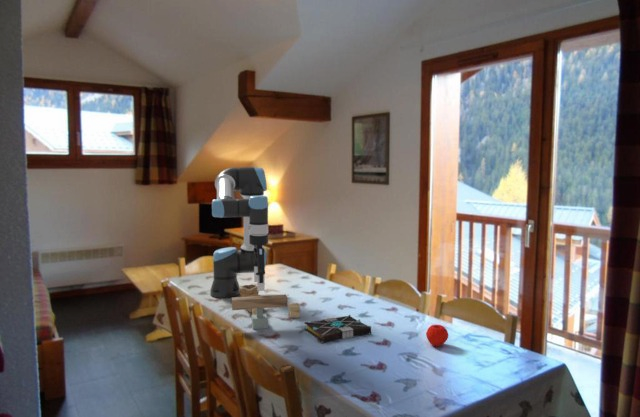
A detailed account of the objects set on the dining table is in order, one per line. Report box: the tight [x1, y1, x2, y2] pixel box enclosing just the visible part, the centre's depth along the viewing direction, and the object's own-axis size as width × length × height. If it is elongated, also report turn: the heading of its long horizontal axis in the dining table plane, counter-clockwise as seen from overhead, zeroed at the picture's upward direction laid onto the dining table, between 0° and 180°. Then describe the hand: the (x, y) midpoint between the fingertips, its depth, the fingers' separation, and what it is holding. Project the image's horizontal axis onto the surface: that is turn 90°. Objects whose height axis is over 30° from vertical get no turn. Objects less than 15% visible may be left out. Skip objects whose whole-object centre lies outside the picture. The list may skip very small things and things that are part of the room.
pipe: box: [239, 284, 265, 314], centre depth 217 cm, size 9×16×10 cm, turn 25°
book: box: [303, 314, 372, 344], centre depth 188 cm, size 22×17×5 cm
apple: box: [425, 324, 449, 347], centre depth 174 cm, size 8×8×7 cm
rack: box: [251, 302, 301, 319], centre depth 206 cm, size 5×20×5 cm, turn 103°
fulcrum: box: [251, 308, 269, 330], centre depth 194 cm, size 6×6×8 cm
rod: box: [231, 294, 288, 311], centre depth 194 cm, size 4×22×4 cm, turn 103°
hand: (259, 286), depth 193 cm, fingers open, 13 cm apart
